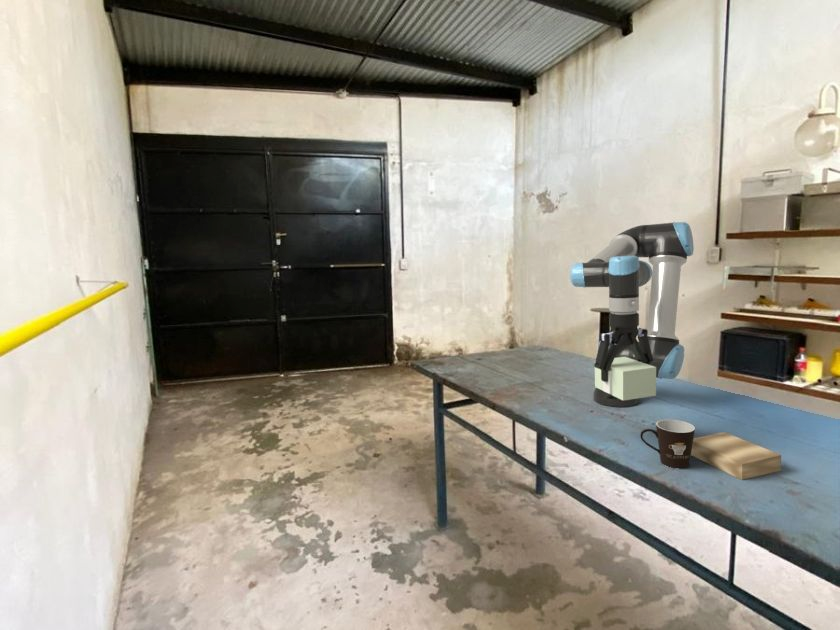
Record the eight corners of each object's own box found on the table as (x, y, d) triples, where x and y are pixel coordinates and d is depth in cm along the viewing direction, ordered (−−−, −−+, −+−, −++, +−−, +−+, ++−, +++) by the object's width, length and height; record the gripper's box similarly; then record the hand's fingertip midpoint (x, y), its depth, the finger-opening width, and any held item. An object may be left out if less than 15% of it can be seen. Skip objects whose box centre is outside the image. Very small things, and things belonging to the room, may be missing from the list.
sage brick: (595, 386, 132) (594, 360, 131) (625, 382, 134) (624, 356, 133) (623, 400, 120) (623, 371, 119) (655, 395, 122) (656, 367, 121)
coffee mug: (697, 460, 115) (698, 423, 114) (690, 474, 109) (690, 435, 108) (648, 449, 123) (648, 415, 122) (639, 461, 117) (639, 425, 116)
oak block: (688, 453, 120) (688, 439, 119) (724, 446, 123) (724, 432, 122) (741, 479, 105) (742, 463, 105) (780, 470, 108) (781, 455, 108)
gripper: (596, 318, 117) (597, 399, 121) (668, 309, 123) (667, 387, 126) (579, 314, 125) (581, 391, 128) (648, 306, 130) (647, 380, 133)
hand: (624, 389), depth 127 cm, fingers closed on sage brick, 10 cm apart
